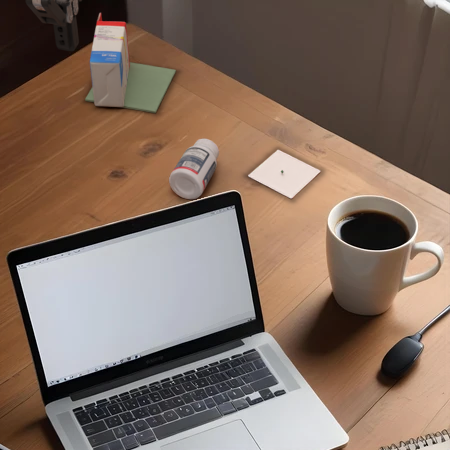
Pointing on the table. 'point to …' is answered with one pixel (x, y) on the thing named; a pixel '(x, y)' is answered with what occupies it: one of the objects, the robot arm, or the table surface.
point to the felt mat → (144, 87)
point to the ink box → (109, 63)
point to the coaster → (284, 173)
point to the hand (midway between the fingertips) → (67, 47)
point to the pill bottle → (194, 169)
